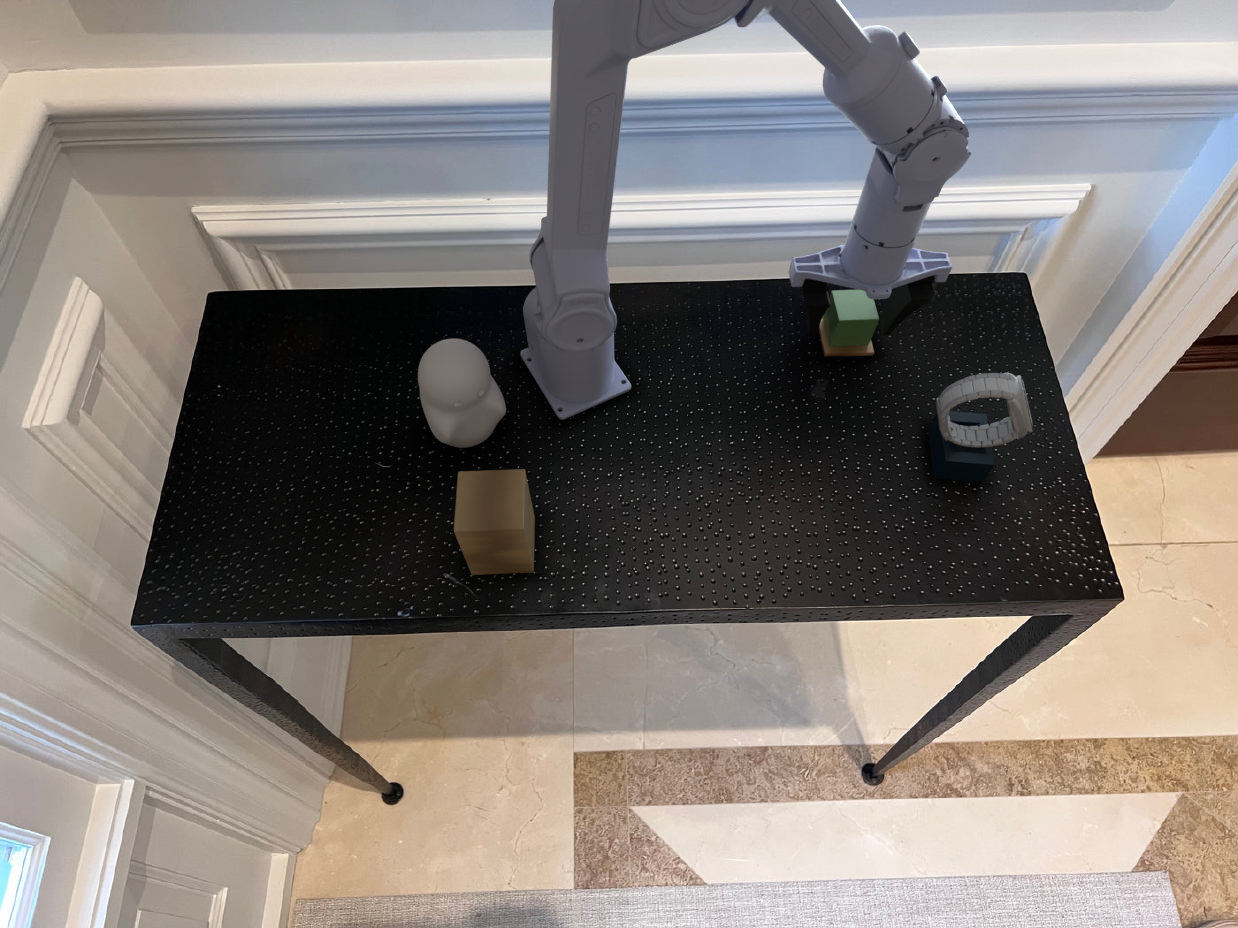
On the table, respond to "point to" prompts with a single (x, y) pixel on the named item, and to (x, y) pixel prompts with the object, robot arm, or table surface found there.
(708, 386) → the table surface
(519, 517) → the wooden block
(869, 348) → the coaster
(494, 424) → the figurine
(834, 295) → the green block
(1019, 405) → the watch
